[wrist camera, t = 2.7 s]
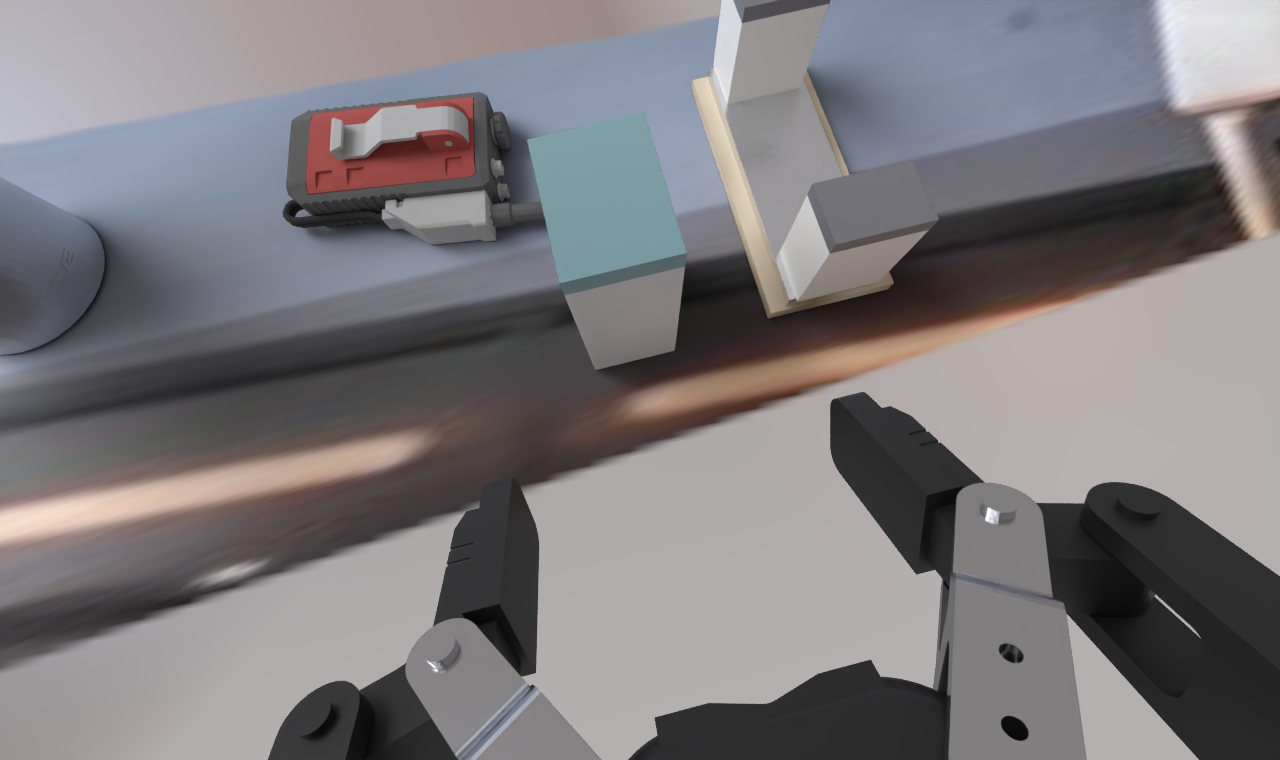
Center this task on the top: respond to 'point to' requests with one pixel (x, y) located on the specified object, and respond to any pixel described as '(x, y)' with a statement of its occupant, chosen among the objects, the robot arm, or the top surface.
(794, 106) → the rail
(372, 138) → the walkie-talkie
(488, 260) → the top surface
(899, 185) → the mounted modules
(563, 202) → the block
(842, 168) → the wood panel
